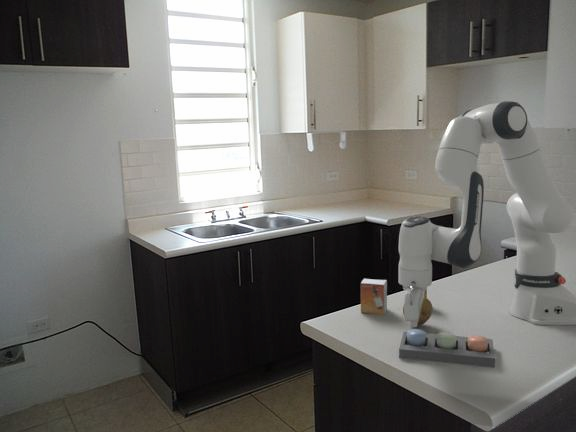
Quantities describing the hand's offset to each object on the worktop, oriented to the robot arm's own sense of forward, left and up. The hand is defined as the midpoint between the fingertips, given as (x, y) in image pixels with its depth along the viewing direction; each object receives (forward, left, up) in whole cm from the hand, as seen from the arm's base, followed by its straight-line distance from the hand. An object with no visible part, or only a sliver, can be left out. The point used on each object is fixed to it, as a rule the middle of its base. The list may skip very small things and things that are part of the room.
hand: (414, 325), depth 139 cm
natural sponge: (0, -17, -7) cm, 19 cm away
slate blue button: (-1, 0, -5) cm, 5 cm away
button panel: (-9, 0, -7) cm, 11 cm away
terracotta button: (-17, 0, -5) cm, 17 cm away
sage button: (-9, 0, -5) cm, 10 cm away
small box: (+15, -27, -7) cm, 32 cm away
